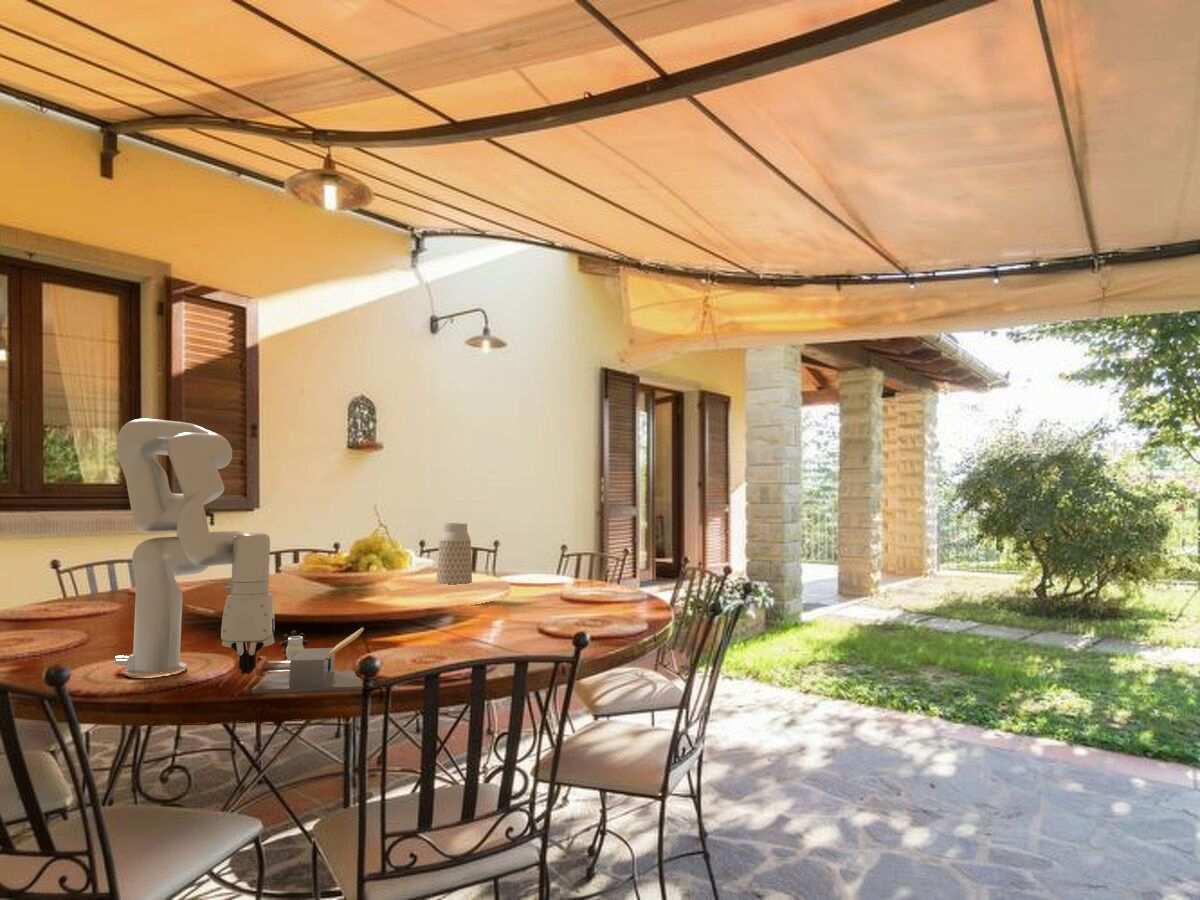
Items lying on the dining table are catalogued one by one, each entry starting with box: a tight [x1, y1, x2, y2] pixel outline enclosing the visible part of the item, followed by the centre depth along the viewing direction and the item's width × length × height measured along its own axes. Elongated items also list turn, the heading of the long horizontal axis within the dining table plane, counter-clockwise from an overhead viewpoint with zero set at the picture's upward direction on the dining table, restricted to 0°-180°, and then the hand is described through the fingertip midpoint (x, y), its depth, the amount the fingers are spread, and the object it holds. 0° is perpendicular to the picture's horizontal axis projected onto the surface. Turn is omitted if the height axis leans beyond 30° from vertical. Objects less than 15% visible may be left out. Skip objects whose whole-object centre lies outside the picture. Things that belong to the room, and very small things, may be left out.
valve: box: [279, 630, 308, 661], centre depth 186 cm, size 7×7×12 cm
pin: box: [255, 655, 290, 678], centre depth 163 cm, size 14×4×4 cm, turn 99°
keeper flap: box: [326, 626, 365, 660], centre depth 165 cm, size 8×10×1 cm
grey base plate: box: [250, 647, 363, 694], centre depth 164 cm, size 23×14×6 cm, turn 99°
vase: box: [435, 522, 473, 585], centre depth 287 cm, size 14×14×31 cm
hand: (247, 672), depth 162 cm, fingers closed
